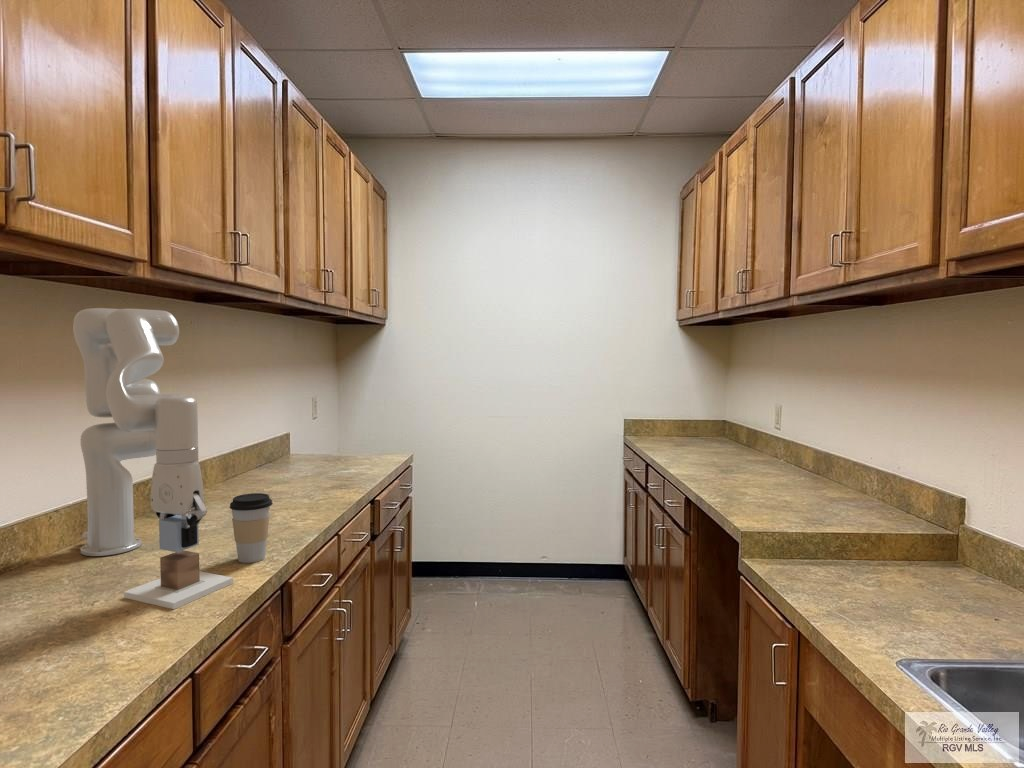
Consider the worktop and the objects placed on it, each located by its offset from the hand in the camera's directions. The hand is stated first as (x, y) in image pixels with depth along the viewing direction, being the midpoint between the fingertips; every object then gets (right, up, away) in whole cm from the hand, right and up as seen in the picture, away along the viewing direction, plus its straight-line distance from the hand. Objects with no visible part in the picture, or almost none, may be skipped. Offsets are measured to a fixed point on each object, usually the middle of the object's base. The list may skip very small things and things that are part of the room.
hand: (179, 543), depth 121 cm
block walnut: (0, -9, 0) cm, 9 cm away
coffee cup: (+6, -9, +19) cm, 22 cm away
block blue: (0, -1, 0) cm, 1 cm away
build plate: (0, -10, 0) cm, 10 cm away
